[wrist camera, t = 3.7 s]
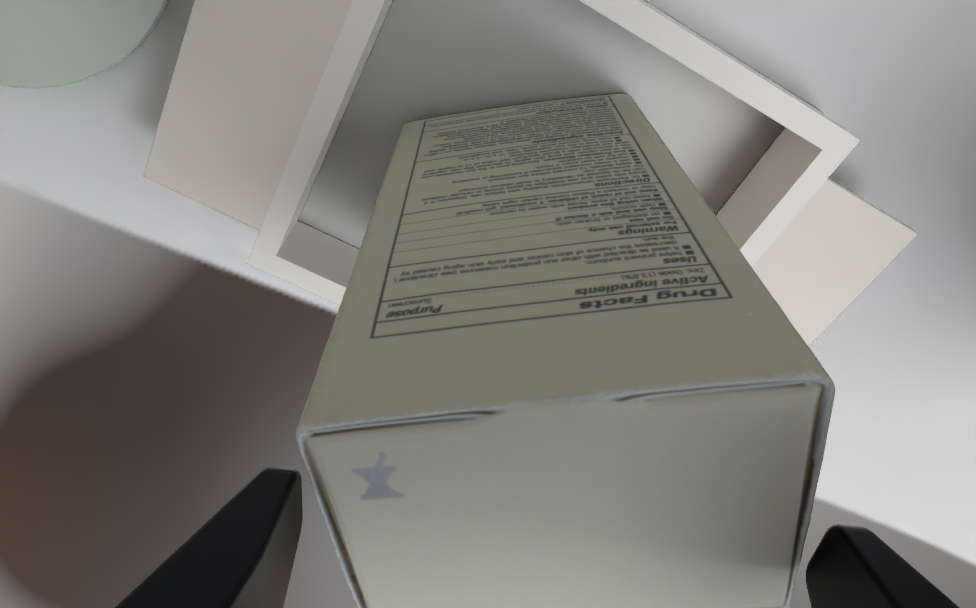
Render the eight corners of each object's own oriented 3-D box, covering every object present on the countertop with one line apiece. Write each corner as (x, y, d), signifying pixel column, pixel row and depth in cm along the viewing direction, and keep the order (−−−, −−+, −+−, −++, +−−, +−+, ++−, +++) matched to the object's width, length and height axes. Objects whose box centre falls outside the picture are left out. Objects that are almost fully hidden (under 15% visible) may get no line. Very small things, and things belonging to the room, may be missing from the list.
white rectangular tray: (907, 166, 19) (953, 198, 17) (678, 416, 23) (694, 463, 21) (293, -221, 14) (262, -236, 13) (169, 180, 19) (132, 212, 17)
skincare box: (428, 260, 20) (347, 655, 10) (400, 116, 18) (257, 432, 8) (646, 237, 20) (802, 630, 9) (645, 86, 18) (848, 383, 7)
